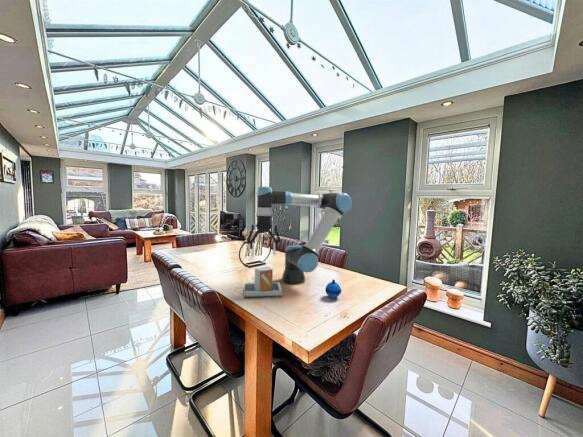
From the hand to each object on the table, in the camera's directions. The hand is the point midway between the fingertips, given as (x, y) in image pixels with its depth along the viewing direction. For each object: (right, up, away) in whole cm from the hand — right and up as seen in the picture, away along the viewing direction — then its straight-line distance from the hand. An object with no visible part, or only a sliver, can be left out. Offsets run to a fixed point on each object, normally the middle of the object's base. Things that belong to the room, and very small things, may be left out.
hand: (263, 254), depth 137 cm
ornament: (+38, -24, -1) cm, 45 cm away
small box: (0, -21, +2) cm, 21 cm away
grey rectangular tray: (-1, -22, +2) cm, 22 cm away
